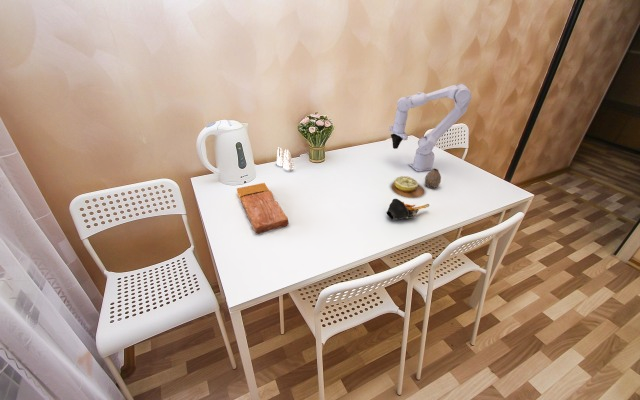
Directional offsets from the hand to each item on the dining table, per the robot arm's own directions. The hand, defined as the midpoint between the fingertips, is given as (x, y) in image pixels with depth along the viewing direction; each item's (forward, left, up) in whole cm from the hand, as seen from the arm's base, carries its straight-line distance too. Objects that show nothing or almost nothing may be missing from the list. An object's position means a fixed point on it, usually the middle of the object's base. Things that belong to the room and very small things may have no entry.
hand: (395, 148), depth 151 cm
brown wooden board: (+74, +23, -10) cm, 78 cm away
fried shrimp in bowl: (+18, +43, -10) cm, 48 cm away
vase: (-7, +25, -10) cm, 28 cm away
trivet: (+6, +25, -10) cm, 27 cm away
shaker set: (+57, -10, -10) cm, 58 cm away
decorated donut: (+6, +23, -10) cm, 26 cm away
